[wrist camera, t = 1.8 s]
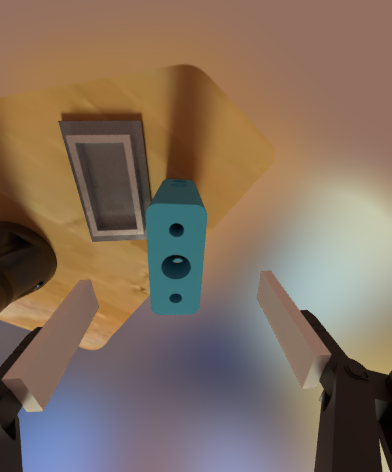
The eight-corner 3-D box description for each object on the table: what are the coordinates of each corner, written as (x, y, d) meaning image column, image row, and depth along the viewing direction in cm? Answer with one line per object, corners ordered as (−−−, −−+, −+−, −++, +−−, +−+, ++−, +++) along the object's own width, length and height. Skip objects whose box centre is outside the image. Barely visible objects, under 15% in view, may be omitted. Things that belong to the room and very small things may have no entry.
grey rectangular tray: (94, 239, 37) (87, 246, 34) (62, 121, 28) (49, 119, 26) (155, 236, 38) (153, 243, 35) (141, 121, 29) (137, 118, 26)
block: (164, 173, 33) (144, 203, 14) (193, 174, 33) (208, 205, 15) (165, 235, 38) (151, 315, 19) (190, 235, 38) (198, 314, 20)
